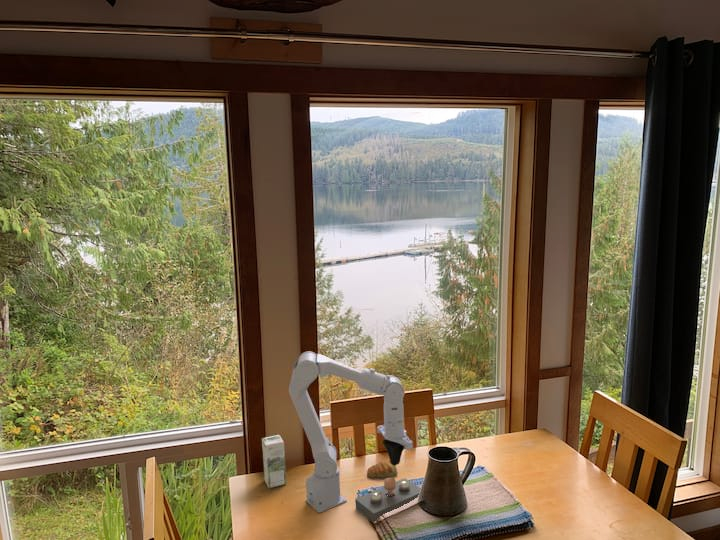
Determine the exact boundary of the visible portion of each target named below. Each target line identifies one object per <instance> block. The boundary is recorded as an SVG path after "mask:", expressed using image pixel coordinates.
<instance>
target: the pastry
mask: <svg viewBox="0 0 720 540" xmlns="http://www.w3.org/2000/svg"><path fill="white" fill-rule="evenodd" d="M396 466H397V465H395V466H394V465H392V464H391V461H390V459H389V460H382V461H381V460H380V461H378V462H377V463H376V464H373V465H371V466H370V467H369V468H368V469H367V470H366V474H367V476H368V477H369V478H372V479H386V478H394V477H396V476H397V475H398V469H397V467H396Z"/></svg>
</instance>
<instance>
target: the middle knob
mask: <svg viewBox="0 0 720 540" xmlns="http://www.w3.org/2000/svg"><path fill="white" fill-rule="evenodd" d="M395 482H396V479H395V478H394V477H387V478H384V480H383V483H384V484H383V487H384V488H385V489H386V490H388V497H389V498H390V497H393V490H394V489H395V488H396V483H395Z"/></svg>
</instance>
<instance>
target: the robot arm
mask: <svg viewBox="0 0 720 540" xmlns="http://www.w3.org/2000/svg"><path fill="white" fill-rule="evenodd" d="M330 375H331V376H335V377H338V378H341V379H346V380H347V381H351V382H355V383H356V384H357V386H358V388H359V389H362V390H365V391H368V392H370V393H374V394H376V395H379V396H383V400H384V401H383V402H384V403H383V422H384V423H383V424H381V425H378V426H377V427H376V430H377V431H376V432H377V433H378V434H381V435H382V437H384V440H382V444H383V445H384V447H385V449H386V451H387V454H388V457H389V460H390V461H391V464H392V465H394V466H397V465H399V464H400V462H401V458H402V455H403V454H402V453H403V451H404V450H406V451H409V450H412V449H414V442H413V441H412V440H411V439H410V438H409V436H408V435H407V433H408V432H407V430H406V429H405V413H404V412H405V411H404V410H405V409H404V403H403V402H404V397H405V394H406V393H405V390H404V386H403V384H402V381H401V380H400V379H399V378H398V377H397V376H395V375H394V374H391V375H389V374H386V375H385V374H383V373H379V372H377V371H376V370H375V368H372V367H370V369H369V368H363V369H362V370H361V369H360V370H359V369H357V368H354V367H351V366H349V365H346V364H344V363H342V362H340V361H338V360H334V359H332V358H331V357H330V358H329V357H328V356H325V355H323V354H321V353H315V352H313V351H311V350H310V351H305V352H302V353H300V355H299V356H298V358H297V360H296V361H295V363H294V365H293V370H292V375H291V378H290V383H289V387H288V393H289V396H290V398H291V401H292V404H293V406H294V408H295V411H296V413H297V417H298V419H299V421H300V422H301V426H302V427H303V429H304V432H305V435H306V437H307V439H308V443H309V444H310V447H311V452H312V458H313V459H314V469H313V470H314V471H313V473H312V474H311V475H310V476H308V477H307V478H306V480H305V490H306V498H305V502H306V503H307V504H309V506H311V507H312V508H313V509H314V510H315V511H316V512H317V513H321V512H322V513H323V512H324V511H327V510H329V509H331V508H332V509H333V508H334V507H336V506H339V505H341V504H344V503H345V502H347V499H346V498H345V496H343V495H342V494H341V481H340V468H339V466H338V463H337V455H338V451H337V448H336V447H335V446H334V444H332V443H331V442H330V439H329V438H328V436H326V434H325V430H324V429H323V425H322V424H321V422H320V419H319V416H318V414H317V411H316V409H315V407H314V404H313V402H312V399H311V397H310V394H309V392H308V388H309V386H310V385H311V384H312V383H313V382H314V381H315V380H317V377H318V376H319V378H320V379H322V378H324V377H328V376H330Z"/></svg>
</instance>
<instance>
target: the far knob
mask: <svg viewBox="0 0 720 540" xmlns="http://www.w3.org/2000/svg"><path fill="white" fill-rule="evenodd" d="M397 481H398V488H399V490H400V491H403V492H404V491H408V490H409V489H410V487H409V481H410V480H409V479H408V478H405V479H404V478H402V479H401V478H400V479H399V480H397Z"/></svg>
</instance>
